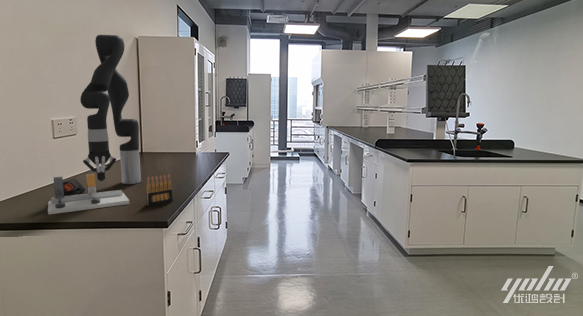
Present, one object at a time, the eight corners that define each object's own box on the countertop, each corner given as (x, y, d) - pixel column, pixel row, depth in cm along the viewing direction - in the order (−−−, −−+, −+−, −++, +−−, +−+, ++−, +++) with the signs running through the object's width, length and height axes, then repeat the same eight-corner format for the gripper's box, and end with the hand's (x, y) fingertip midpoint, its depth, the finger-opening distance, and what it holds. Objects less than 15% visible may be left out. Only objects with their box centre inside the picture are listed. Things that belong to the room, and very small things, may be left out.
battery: (61, 202, 160) (73, 193, 159) (50, 187, 160) (62, 178, 159) (79, 198, 171) (90, 189, 171) (69, 184, 172) (80, 175, 171)
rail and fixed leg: (51, 202, 148) (49, 177, 147) (121, 193, 162) (120, 171, 161) (51, 208, 139) (48, 182, 138) (125, 199, 153) (124, 175, 151)
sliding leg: (87, 193, 155) (86, 174, 154) (95, 192, 157) (94, 173, 155) (89, 199, 146) (88, 178, 144) (98, 198, 147) (96, 178, 146)
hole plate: (48, 204, 150) (48, 198, 150) (123, 195, 165) (123, 190, 164) (48, 214, 137) (47, 207, 136) (129, 203, 151) (129, 197, 151)
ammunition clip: (148, 205, 149) (146, 176, 147) (146, 205, 150) (144, 176, 148) (172, 201, 156) (171, 173, 154) (170, 200, 158) (169, 172, 156)
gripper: (114, 138, 160) (117, 177, 162) (79, 140, 153) (82, 181, 155) (117, 139, 153) (119, 180, 156) (80, 141, 146) (84, 184, 149)
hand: (101, 180), depth 156 cm, fingers closed
